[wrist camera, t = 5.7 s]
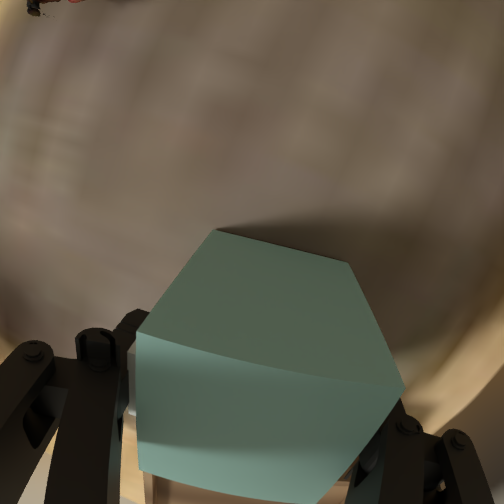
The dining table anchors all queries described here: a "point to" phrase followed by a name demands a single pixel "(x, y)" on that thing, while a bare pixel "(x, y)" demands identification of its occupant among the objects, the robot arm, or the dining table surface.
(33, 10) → the dragon fruit
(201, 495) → the tray
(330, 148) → the dining table surface
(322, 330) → the block
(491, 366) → the dining table surface
